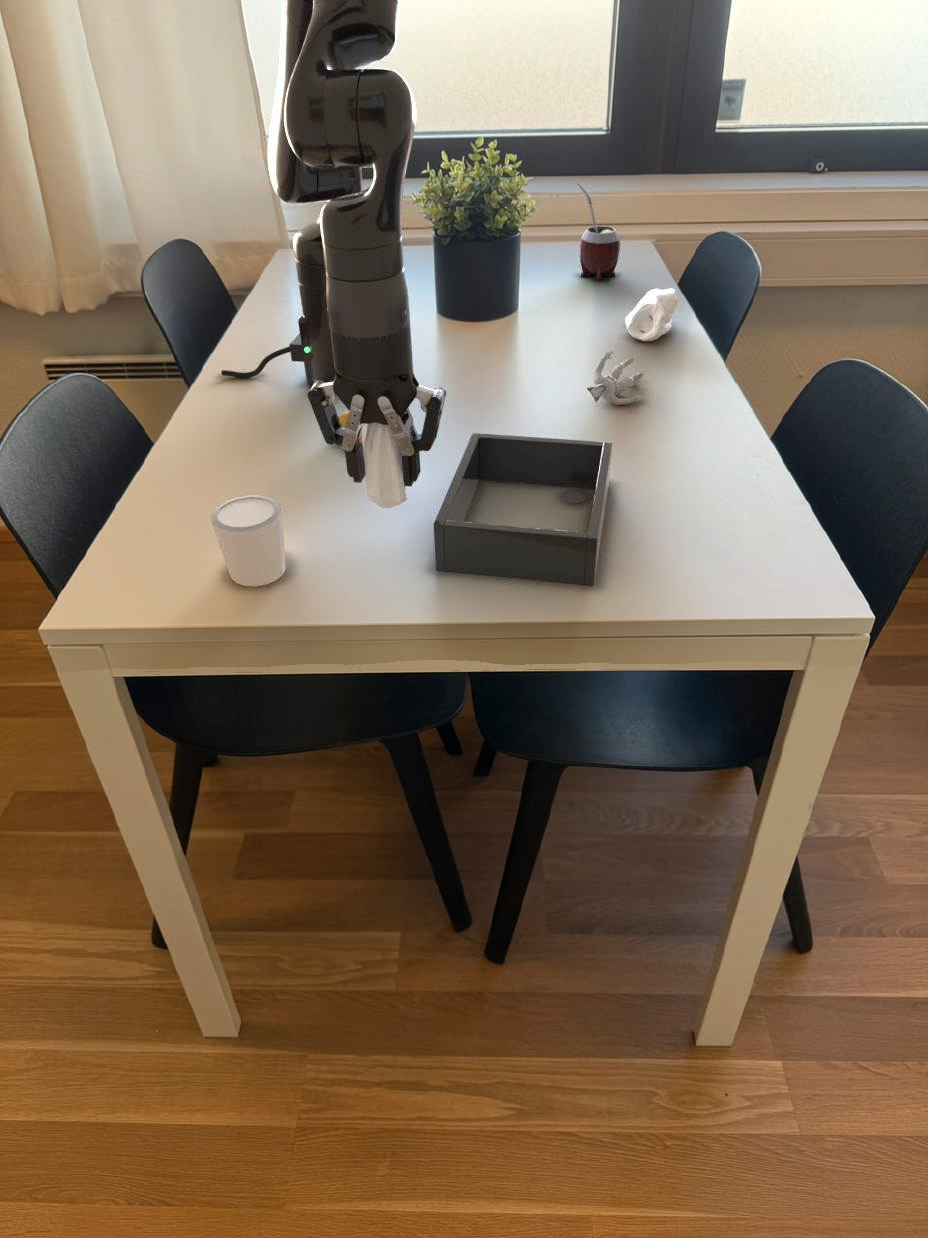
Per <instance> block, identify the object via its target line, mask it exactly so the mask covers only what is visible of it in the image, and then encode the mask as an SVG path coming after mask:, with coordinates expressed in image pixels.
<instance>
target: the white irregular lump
mask: <svg viewBox="0 0 928 1238" xmlns="http://www.w3.org/2000/svg"><path fill="white" fill-rule="evenodd" d="M678 300H679V299H678V293H677V291H676V290H675V289H674V288H673V287H671V288H668V289H660V288H655V289H651V290H649V291H647V293H646V294H645V295H644V296H643V297H642V298H641V299H640V301H639V302H637V304H636V306H635V307H634V309H633V310H632V311H631V312H630V313H628V315H626V317H625V319H624V323H625V326H626V328H625V329H626V330H627V332H628V334H629V335H630V336H631V337H632V338H633V339H635V340H638V341H642V342H646V343H647V342H653V341H656V340H658V339H659V338H660V337H661V336H663V335H666V334H667V333H669V332H670V331H671V329H672V325H673V321H672V319H673V314H674V312H675V309H676V307H677V303H678Z"/></svg>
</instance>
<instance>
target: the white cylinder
mask: <svg viewBox="0 0 928 1238" xmlns="http://www.w3.org/2000/svg"><path fill="white" fill-rule="evenodd" d="M210 521H211V525H212V528H213V530H214V533H215V537H216V539H217V542H218V544H219V548H220V550H221V553H222V556H223V559H224V562H225V564H226V568H227V570H228V573H229V577H230V579H231V580H233V581H234V583H235V584H237V585H241V586H243V587H255V588H257V587H261V586H266V585H269V584H272V583H273V582H276V581H278V580H279V579H280V578H281V577H282V576H283V575H284V574H285V571H286V569H287V567H286V552H285V538H284V537H285V536H284V525H283V524H284V523H283V522H284V521H283V511H282V507H281V503H280V502H279V501H277V500H276V499H275V498H272V497H269V496H266V495H259V494H257V495H256V494H254V495H253V494H248V495H243V496H237V497H233V498H231V499H228V500H226V501H223V502H222V503H220V504H219V505H218V506H216V507H214V510H213V511H212V513H211V514H210Z"/></svg>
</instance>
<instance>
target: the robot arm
mask: <svg viewBox="0 0 928 1238" xmlns="http://www.w3.org/2000/svg"><path fill="white" fill-rule="evenodd" d="M400 5H401V0H281V9H280V10H281V11H280V12H281V14H280V15H281V16H280V43H279V59H278V71H277V80H276V87H275V93H274V99H273V100H274V101H273V105H272V112H271V117H270V118H271V119H270V124H269V132H268V143H267V165H268V172H269V176H270V178H269V179H270V182H271V185H272V187H273V190H274V192H275V194H276V195H277V197H278V198H279V199H280V200H281V201H282V202H284V203H286V204H289V205H309V204H315V203H321V202H326V203H324V205H323V206H322V208H321V211H320V214H319V215H318V216H317V217H316V218H315V219H314V220H312V221H311V222H310V223H308V224H307V225H305V226H304V227H302V228H300V229H299V230H298V231H296V233H295V234H294V236H293V237H292V247H293V254H294V255H293V256H294V261H295V268H296V276H297V283H298V290H299V297H300V304H301V312H302V314H301V315H300V316H299V317H298V319H297V323H298V330H299V333H298V334H297V335H296V337H295V338H294V339H292V341H291V342H290V343H289V344H288V345H289V346H286V347H284V348H280V349H278V350H276V351H273V352H271V353H270V354H267V355H266V356H265V357H264V358H263V359H262V360H261V361H260V363H259V365H258V366H256V369H254V370H251V371H247V372H240V371H233V370H227V369H222V370H221V376H225V377H234V378H239V379H249V378H253V377H255V376H258V375H259V374H260V373H261V372H263V370H264V369H265V368H266V366H267V364H268V363H269V362H271V361H272V360H274V359H275V358H277V357H279V356H282V355H285V354H288V353H290V359H291V362H300V363H303V366H304V373H305V374H304V375H305V379H306V380H305V381H306V385H309V386H311V388H310V389H309V390H308V392H307V398H308V401H309V404H310V407H311V409H312V412H313V414H314V416H315V419H316V422H317V425H318V427H319V430H320V432H321V435H322V436H323V441H324V442H325V443H326V444H327V445H330V446H333V445H337V446H338V445H339V446H338V447H340V446H341V447H342V448H341V447H340V448H341V449H342V450H344V457H345V463H346V472H347V475H348V476H349V478H352V479H353V480H352V481H353V483H357V484H361V483H362V482H363V480H364V479H365V478H366V476H365V461H364V452H363V443H360V442H359V439H360V435H361V432H362V428H363V425H364V424H370V423H379V424H383V425H389V426H390V429H391V431H392V433H393V435H394V437H396V438H397V439H398V441H399V444H400V446H401V448H402V450H403V454H402V466H403V478H404V486H405V487H409V488H411V487H413V484H414V483H416V482H417V481H418V479H419V477H420V474H421V457H420V456H421V455H420V453H421V452H429V451H430V450H431V449H432V448H433V445H434V443H435V441H436V439H437V436H438V432H439V427H440V423H441V418H442V414H443V409H444V405H445V401H446V395H447V391H446V389H445V388H444V387H442V386H437V387H435V388H434V389H431V388H428V387H425V386H421V385H420V383H419V381H418V379H417V377H416V375H415V373H414V362H413V361H414V360H413V359H414V358H413V346H412V331H411V329H412V328H411V313H410V299H409V298H410V297H409V290H408V284H407V280H406V275H405V267H404V265H405V264H404V249H403V236H402V209H403V205H402V204H403V195H404V189H405V188H404V187H405V182H406V181H405V180H406V174H407V169H408V164H409V160H410V154H411V150H412V145H413V141H414V135H415V129H416V128H415V127H416V121H417V119H416V118H417V109H416V102H415V98H414V95H413V92H412V89H411V88H410V86H409V84H408V82H407V81H406V79H405V78H404V77H403V76H402V75H401V74H400V73H398V72H397V71H395V70H393V69H391V68H390V69H389V68H362V67H365V66H368V65H371V64H375V63H377V62H379V61H382V60H383V59H385V58H386V57H388V56H389V55H390V54H391V53H392V51H393V50H394V49H395V46H396V43H397V40H398V35H399V24H400ZM362 168H363V169H365V168H366V169H367V168H371V169H373V179H372V183H371V184H370V186H369V187H368V188H366V189H363V172H362ZM336 397H337V398H338V399H339V400H340V401H341V403H342V404H343V405H344V407H345V408H346V409H347V410H348V412H349V416H348V419H347V423H346V427H345V429H343V428H342V425H341V423H340V420H339V417H338V416H339V415H338V412H337V409H336V407H335V404H334V402H335V400H336ZM415 399H416V400H418V402H419V403H420V410H421V411H422V412H424V413H425V416H424V421H423V422H424V423H423V426H422V431H421V433H419V434H418V431H417V429H416V427H415V425H414V417H413V415H412V413H411V410H410V408H409V407H410V406H411V405H412V403H413V402H414V401H415Z"/></svg>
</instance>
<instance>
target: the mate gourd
mask: <svg viewBox="0 0 928 1238" xmlns="http://www.w3.org/2000/svg"><path fill="white" fill-rule="evenodd" d="M576 186H578V188H579V189H580V190H581V191H582V193H583V194H584V196H585V197H586V203H587V205H588V209H589V212H590V217H591V222H592V226H589V227H588V228H586V229H585V231H584V232H583V234H582V235H581V240H580V245H579V261H580V266H581V271H582V272H581V273H580V277H582V278H584V277H585V278H586V277H589V278H590V277H595V278H596V281H597V282H602V281H603V277H615V276H616V270H615V269H616V267H617V264H618V261H619V257H620V256H619V254H620V250H621V241H620V236H619V234H618V231H617V230H616V229H615V228H614V227H612V226H607V225H597V221H596V217H595V214H594V213H595V212H594V208H593V199H592V197H591V196H590V194H589V193H588V191H587V190H586V188H585V187H583V185H582V184H580V182H577V183H576Z"/></svg>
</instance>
